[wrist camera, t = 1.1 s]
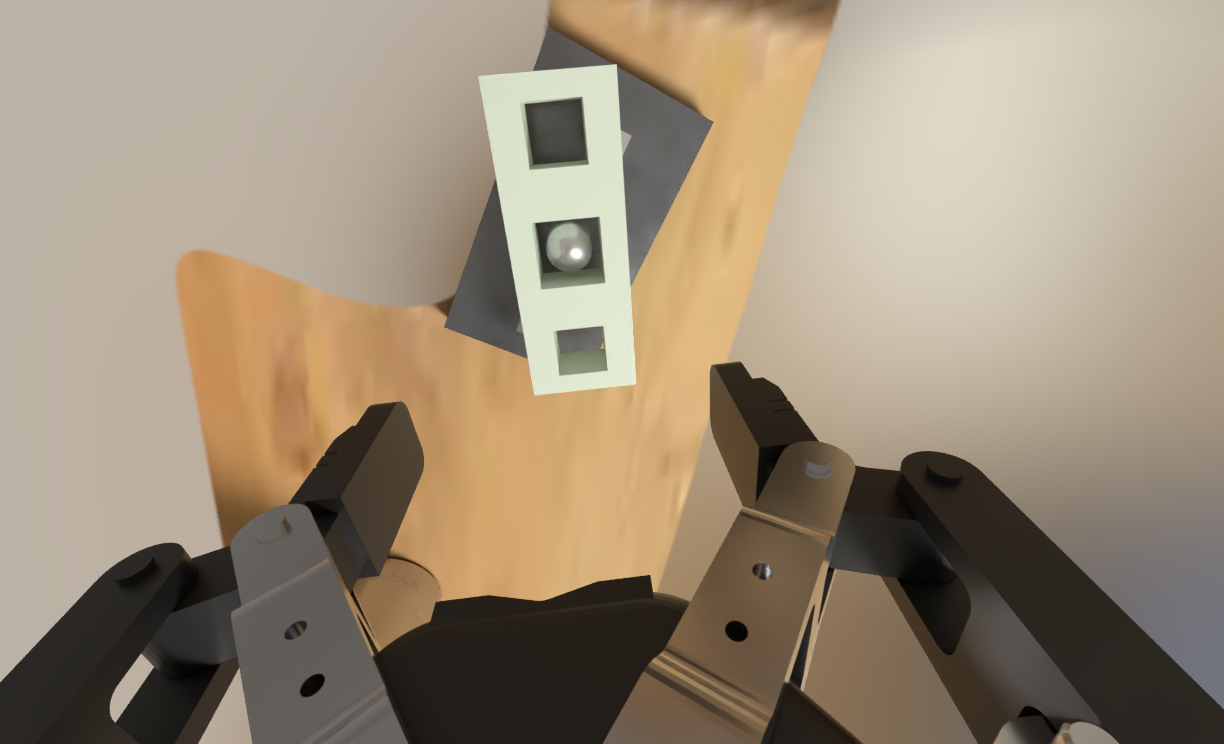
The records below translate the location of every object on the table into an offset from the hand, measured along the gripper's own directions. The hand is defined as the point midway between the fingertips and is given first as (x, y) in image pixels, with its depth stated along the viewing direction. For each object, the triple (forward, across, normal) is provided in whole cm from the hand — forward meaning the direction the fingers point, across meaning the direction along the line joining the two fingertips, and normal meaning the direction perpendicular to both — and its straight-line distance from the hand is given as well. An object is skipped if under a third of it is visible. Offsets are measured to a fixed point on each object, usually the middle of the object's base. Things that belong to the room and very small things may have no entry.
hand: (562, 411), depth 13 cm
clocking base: (+21, 0, 0) cm, 21 cm away
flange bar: (+17, 0, 0) cm, 17 cm away
